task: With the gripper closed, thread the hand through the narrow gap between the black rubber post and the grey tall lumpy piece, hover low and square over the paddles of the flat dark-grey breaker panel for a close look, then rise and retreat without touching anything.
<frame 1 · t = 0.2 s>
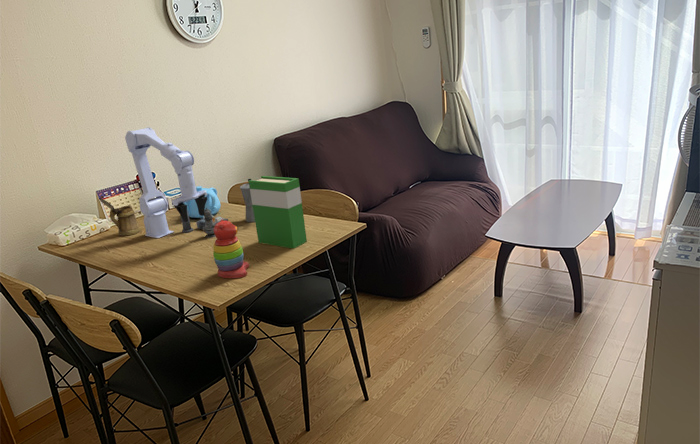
hand: (193, 218, 200), 10 cm above the table, tool pointing down, fingers open, 7 cm apart
wooden mug: (125, 234, 223), on the table
hardback book: (282, 242, 193), on the table
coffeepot: (257, 220, 224), on the table
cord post: (187, 231, 218), on the table
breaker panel: (213, 227, 220), on the table
decorative pot: (203, 215, 239), on the table
stacking bear: (233, 273, 170), on the table
grey tall lumpy piece: (211, 236, 209), on the table
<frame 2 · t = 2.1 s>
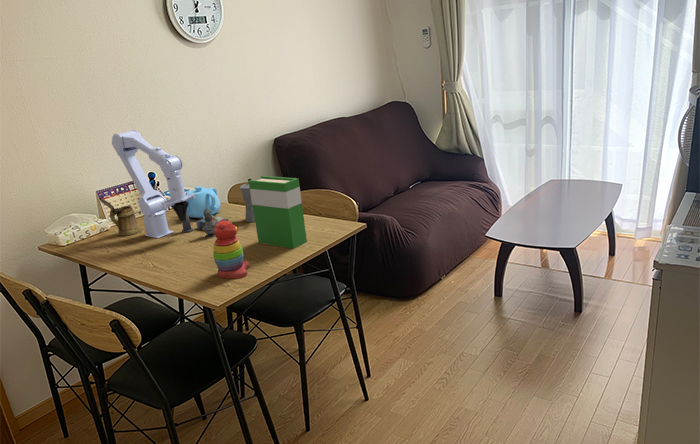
hand: (182, 220, 207), 7 cm above the table, tool pointing down, fingers closed
nothing on the table moved.
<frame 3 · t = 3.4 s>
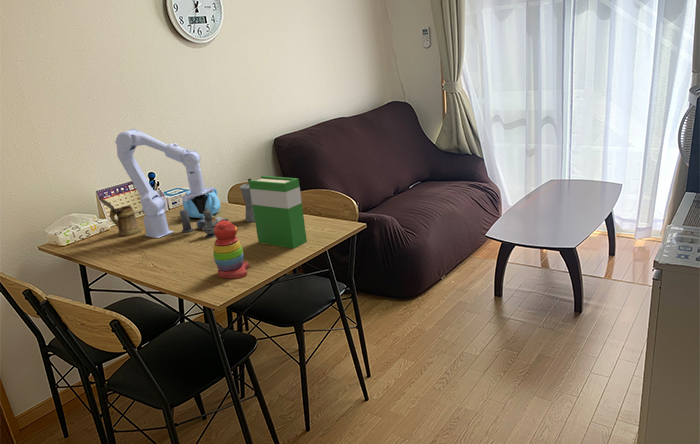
hand: (202, 213, 214), 7 cm above the table, tool pointing down, fingers closed
nothing on the table moved.
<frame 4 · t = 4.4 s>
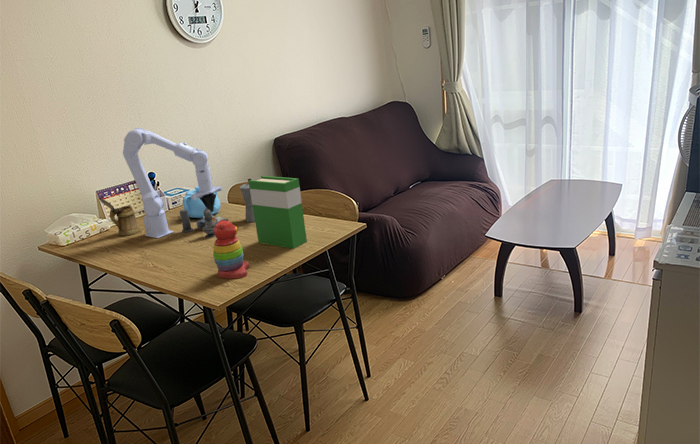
hand: (210, 211, 218), 7 cm above the table, tool pointing down, fingers closed
nothing on the table moved.
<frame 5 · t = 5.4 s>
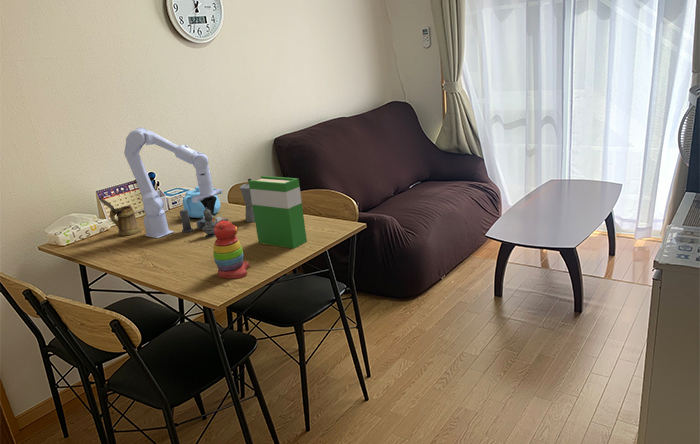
hand: (211, 214, 218), 6 cm above the table, tool pointing down, fingers closed
nothing on the table moved.
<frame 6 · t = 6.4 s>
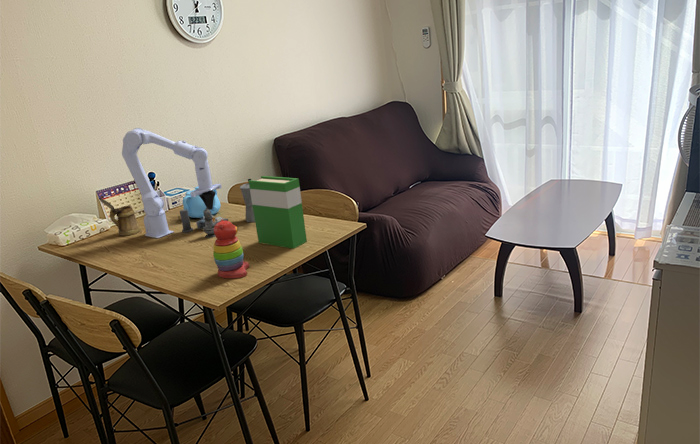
hand: (209, 209, 217), 8 cm above the table, tool pointing down, fingers closed
nothing on the table moved.
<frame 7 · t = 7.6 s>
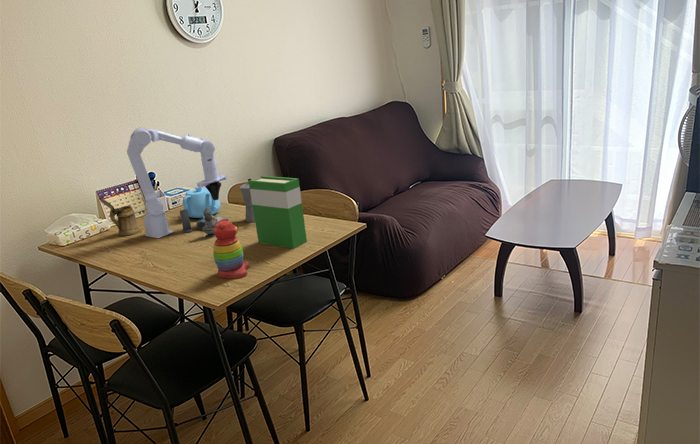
hand: (215, 199, 224), 10 cm above the table, tool pointing down, fingers closed
nothing on the table moved.
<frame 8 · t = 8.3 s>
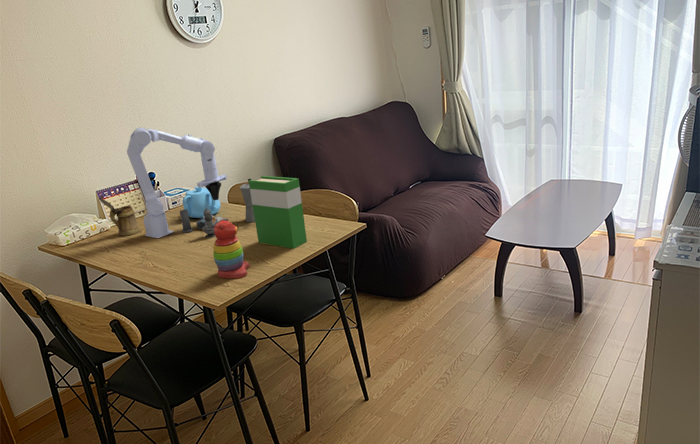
hand: (215, 199, 224), 10 cm above the table, tool pointing down, fingers closed
nothing on the table moved.
at the end: grey tall lumpy piece moved 0.2 cm from its start; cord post moved 0.0 cm from its start; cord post tilted 0° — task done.
